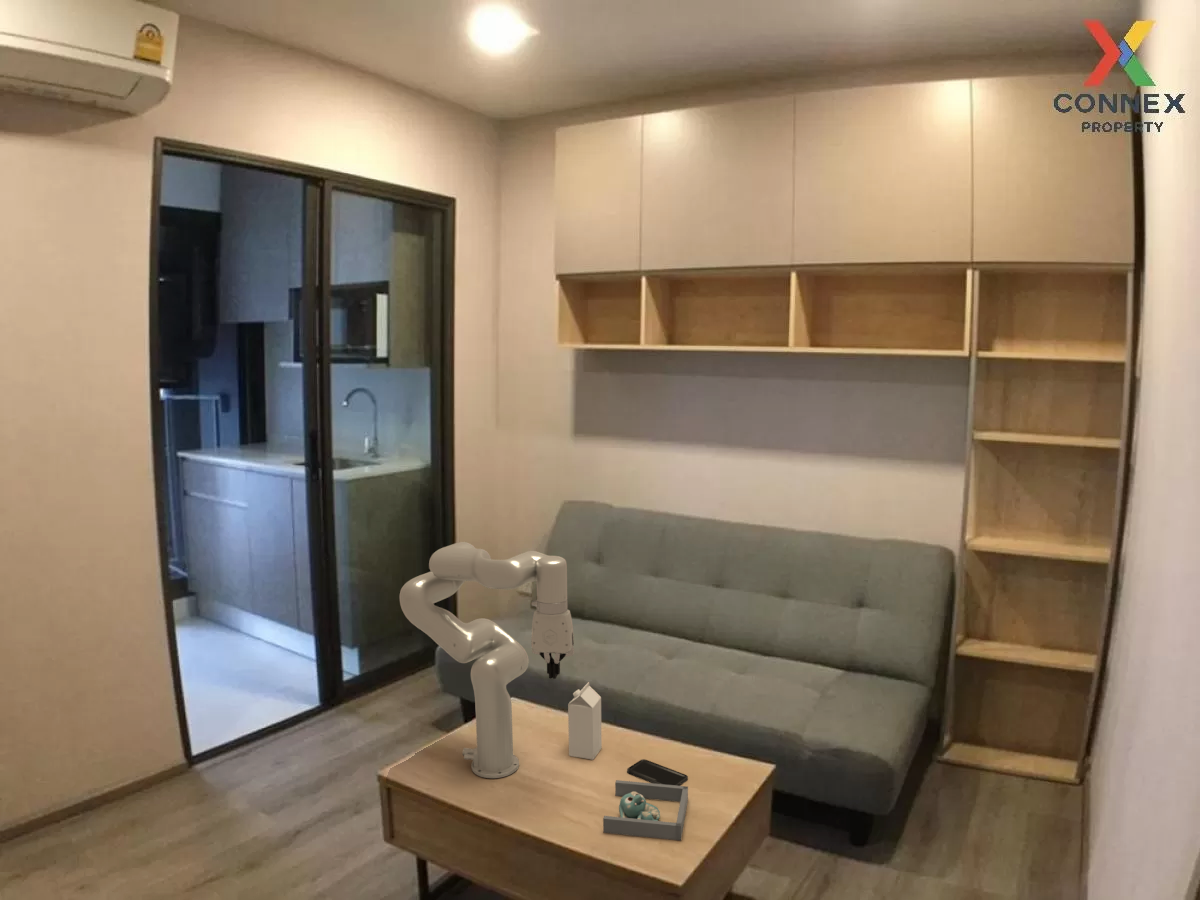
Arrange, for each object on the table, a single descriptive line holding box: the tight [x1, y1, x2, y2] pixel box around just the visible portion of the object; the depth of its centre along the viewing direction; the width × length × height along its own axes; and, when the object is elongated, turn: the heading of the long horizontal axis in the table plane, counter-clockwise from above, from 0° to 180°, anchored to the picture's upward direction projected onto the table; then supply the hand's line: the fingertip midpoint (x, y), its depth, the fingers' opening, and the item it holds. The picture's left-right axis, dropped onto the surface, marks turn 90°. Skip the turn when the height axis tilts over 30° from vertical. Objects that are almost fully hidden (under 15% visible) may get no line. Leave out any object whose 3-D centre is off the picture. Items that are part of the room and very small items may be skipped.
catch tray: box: [602, 779, 689, 842], centre depth 206 cm, size 18×17×4 cm
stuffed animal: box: [618, 792, 661, 821], centre depth 204 cm, size 11×7×12 cm
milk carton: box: [567, 681, 602, 761], centre depth 237 cm, size 7×7×19 cm
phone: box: [626, 758, 689, 786], centre depth 225 cm, size 8×1×15 cm
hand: (553, 676), depth 217 cm, fingers closed
